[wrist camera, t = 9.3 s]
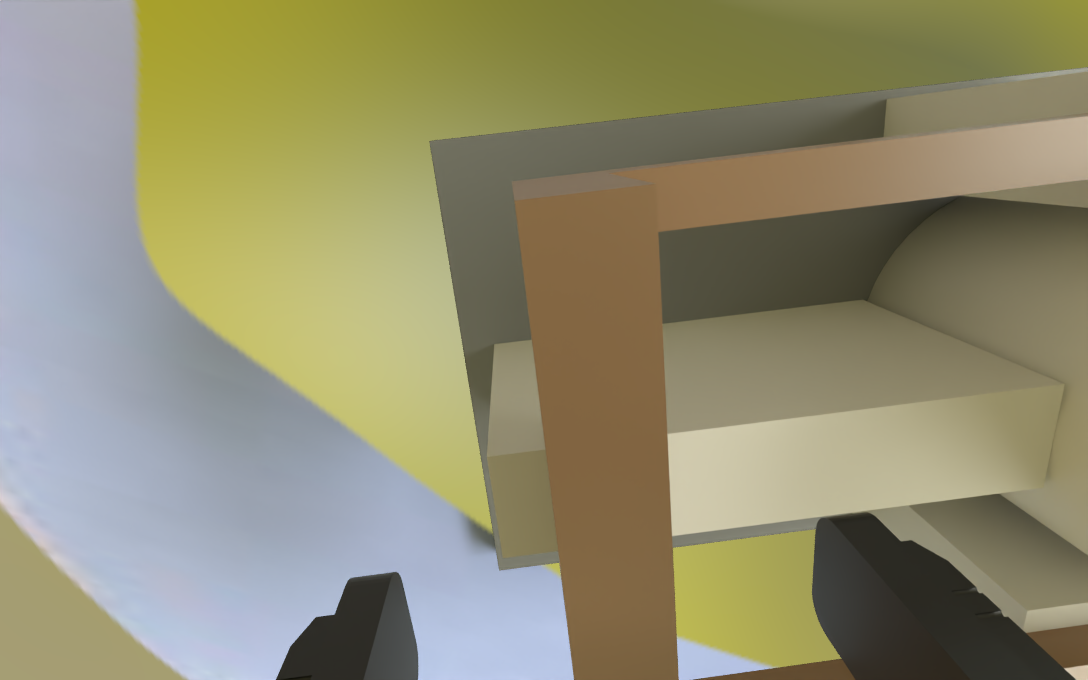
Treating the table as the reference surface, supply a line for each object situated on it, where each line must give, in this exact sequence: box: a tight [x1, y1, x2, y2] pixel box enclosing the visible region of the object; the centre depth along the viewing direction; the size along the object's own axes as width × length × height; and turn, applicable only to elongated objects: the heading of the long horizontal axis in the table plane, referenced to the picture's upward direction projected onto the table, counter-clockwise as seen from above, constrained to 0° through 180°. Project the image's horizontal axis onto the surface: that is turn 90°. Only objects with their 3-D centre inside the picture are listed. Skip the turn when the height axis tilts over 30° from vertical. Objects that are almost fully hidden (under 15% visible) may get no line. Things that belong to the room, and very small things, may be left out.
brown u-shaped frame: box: [512, 113, 1088, 680], centre depth 10 cm, size 14×13×4 cm
